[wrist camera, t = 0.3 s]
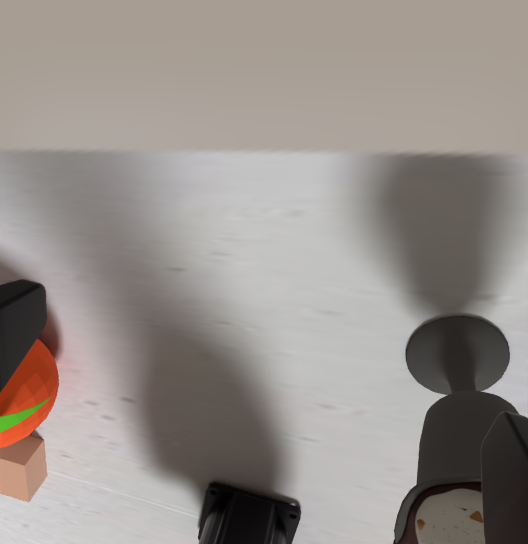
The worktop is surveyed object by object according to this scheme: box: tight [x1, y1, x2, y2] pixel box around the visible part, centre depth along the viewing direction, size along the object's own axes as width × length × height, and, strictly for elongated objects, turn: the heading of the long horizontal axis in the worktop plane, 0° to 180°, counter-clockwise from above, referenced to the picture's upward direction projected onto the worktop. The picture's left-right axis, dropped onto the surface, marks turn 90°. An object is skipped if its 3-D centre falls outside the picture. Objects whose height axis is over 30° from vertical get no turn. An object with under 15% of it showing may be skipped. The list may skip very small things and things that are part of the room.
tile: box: [0, 436, 47, 502], centre depth 36 cm, size 4×4×2 cm
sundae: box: [393, 317, 519, 544], centre depth 19 cm, size 7×7×15 cm
